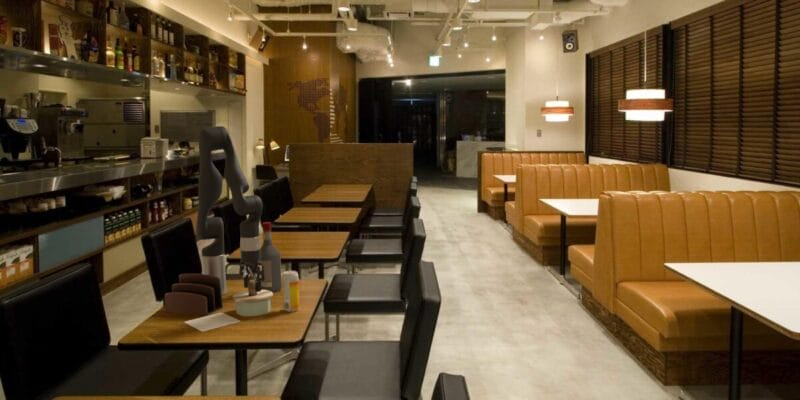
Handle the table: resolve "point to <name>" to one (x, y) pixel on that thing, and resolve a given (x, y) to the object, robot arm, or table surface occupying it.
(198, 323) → the mat
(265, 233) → the liquor
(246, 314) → the bowl
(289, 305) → the beer can
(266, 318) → the table surface
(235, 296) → the lid
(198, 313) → the letter holder
